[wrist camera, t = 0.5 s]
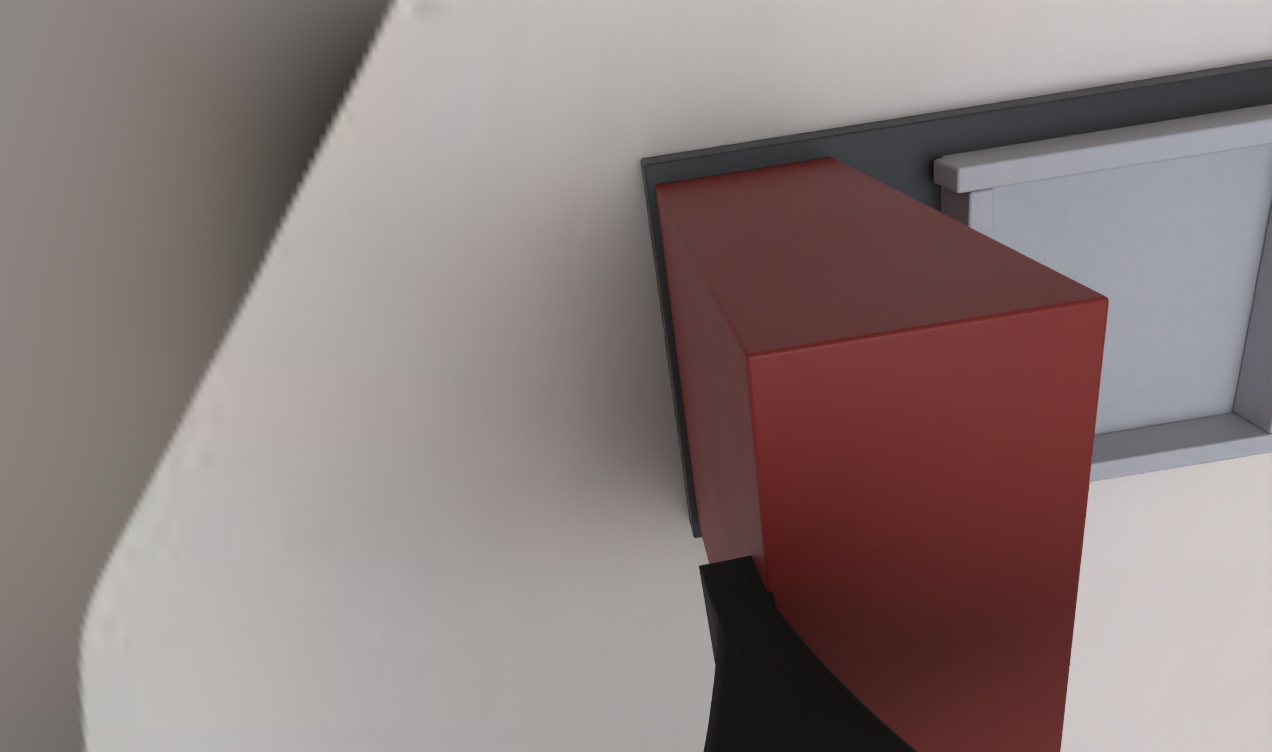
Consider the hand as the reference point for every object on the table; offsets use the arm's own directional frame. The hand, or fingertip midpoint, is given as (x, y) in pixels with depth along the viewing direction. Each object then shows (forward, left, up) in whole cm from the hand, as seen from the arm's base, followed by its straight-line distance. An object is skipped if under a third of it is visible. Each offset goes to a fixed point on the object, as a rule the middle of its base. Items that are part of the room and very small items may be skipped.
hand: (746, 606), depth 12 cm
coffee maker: (0, -9, -11) cm, 14 cm away
